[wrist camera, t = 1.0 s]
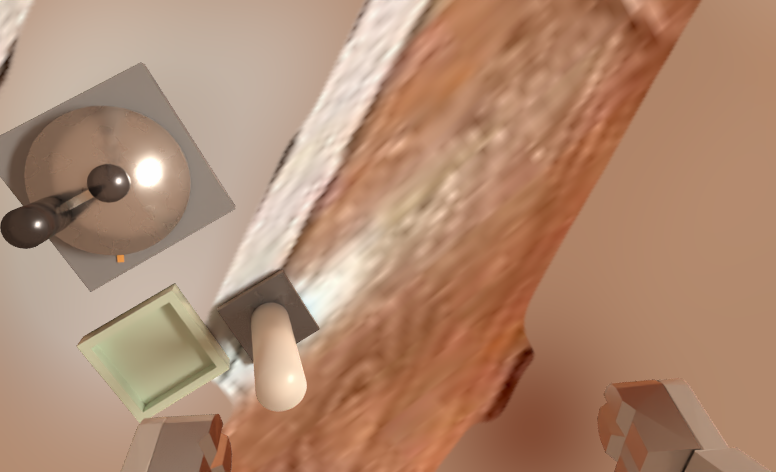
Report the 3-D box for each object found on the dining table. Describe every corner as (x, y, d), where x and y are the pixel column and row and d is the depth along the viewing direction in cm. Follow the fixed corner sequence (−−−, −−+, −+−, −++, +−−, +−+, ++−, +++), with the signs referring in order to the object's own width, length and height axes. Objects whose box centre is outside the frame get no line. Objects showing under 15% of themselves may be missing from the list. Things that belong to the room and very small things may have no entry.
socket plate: (217, 307, 51) (217, 310, 50) (282, 269, 52) (282, 271, 51) (257, 363, 53) (257, 367, 52) (318, 325, 54) (319, 329, 53)
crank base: (-12, 146, 44) (-24, 147, 42) (144, 64, 46) (140, 62, 44) (96, 285, 48) (90, 292, 46) (235, 205, 50) (235, 209, 48)
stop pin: (243, 315, 51) (245, 383, 38) (276, 295, 52) (290, 355, 38) (263, 344, 52) (272, 420, 39) (295, 324, 53) (315, 393, 39)
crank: (-9, 155, 42) (-58, 161, 35) (136, 79, 44) (117, 71, 36) (88, 279, 46) (61, 308, 39) (218, 205, 47) (215, 220, 40)
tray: (83, 336, 49) (76, 346, 47) (175, 283, 50) (172, 290, 48) (144, 411, 51) (140, 423, 49) (229, 359, 53) (229, 368, 51)
